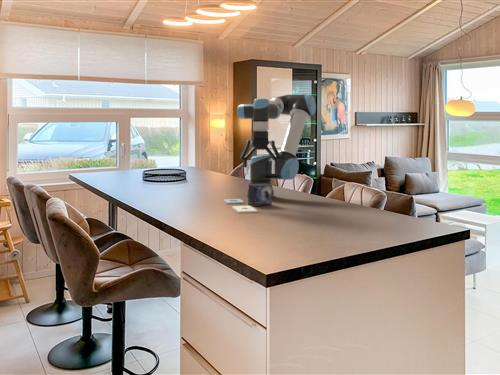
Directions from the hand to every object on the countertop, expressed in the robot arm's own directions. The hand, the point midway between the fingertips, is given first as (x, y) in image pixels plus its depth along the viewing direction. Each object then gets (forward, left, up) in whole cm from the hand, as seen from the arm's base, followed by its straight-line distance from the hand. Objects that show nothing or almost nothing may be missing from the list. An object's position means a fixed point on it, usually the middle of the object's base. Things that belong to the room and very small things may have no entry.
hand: (260, 173), depth 236 cm
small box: (0, 0, -16) cm, 16 cm away
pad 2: (+11, +12, -16) cm, 22 cm away
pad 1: (+11, -11, -16) cm, 22 cm away
